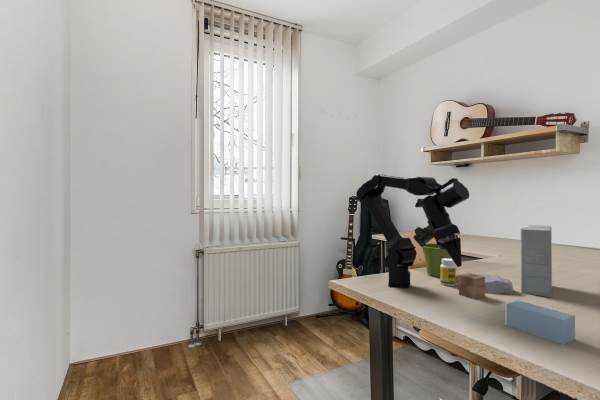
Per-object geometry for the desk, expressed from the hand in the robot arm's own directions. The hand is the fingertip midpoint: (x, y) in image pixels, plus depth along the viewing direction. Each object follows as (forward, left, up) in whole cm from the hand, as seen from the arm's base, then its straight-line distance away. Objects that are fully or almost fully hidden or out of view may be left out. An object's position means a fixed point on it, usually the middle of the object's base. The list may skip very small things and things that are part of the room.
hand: (459, 266), depth 84 cm
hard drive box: (+26, +23, -11) cm, 36 cm away
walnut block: (+5, +10, -11) cm, 15 cm away
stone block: (+12, +20, -11) cm, 26 cm away
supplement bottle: (0, +21, -11) cm, 23 cm away
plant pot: (-2, +33, -11) cm, 35 cm away
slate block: (+9, -10, -8) cm, 16 cm away
